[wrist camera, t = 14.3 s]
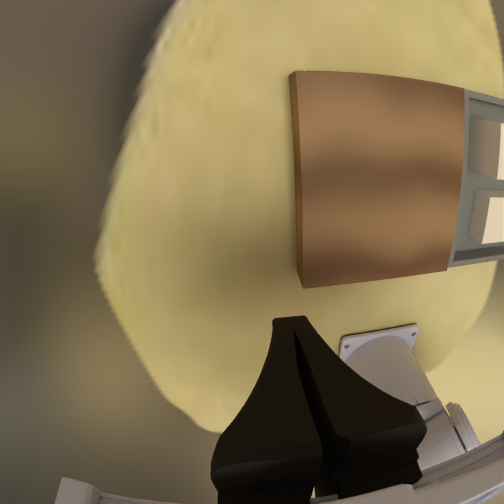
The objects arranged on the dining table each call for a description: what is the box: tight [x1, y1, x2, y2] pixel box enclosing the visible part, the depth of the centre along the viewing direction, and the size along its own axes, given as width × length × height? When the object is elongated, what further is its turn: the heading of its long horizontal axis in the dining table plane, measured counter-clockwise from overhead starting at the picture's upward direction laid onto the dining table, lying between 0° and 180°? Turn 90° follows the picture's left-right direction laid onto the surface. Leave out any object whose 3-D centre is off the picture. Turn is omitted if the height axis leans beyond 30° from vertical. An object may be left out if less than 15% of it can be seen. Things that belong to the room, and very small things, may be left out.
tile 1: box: [467, 117, 504, 180], centre depth 17 cm, size 4×4×2 cm
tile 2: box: [469, 190, 504, 244], centre depth 20 cm, size 4×4×2 cm
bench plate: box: [289, 71, 465, 289], centre depth 19 cm, size 14×12×2 cm
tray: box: [448, 89, 504, 268], centre depth 20 cm, size 14×12×2 cm
